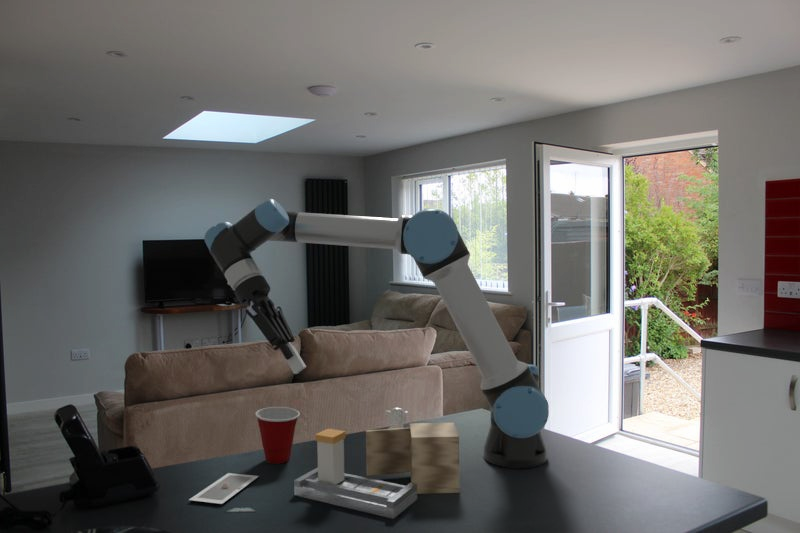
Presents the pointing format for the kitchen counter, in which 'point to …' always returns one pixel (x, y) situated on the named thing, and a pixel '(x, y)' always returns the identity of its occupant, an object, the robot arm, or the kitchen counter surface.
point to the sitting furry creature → (396, 417)
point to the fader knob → (330, 455)
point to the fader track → (358, 493)
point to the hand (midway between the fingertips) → (300, 370)
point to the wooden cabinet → (417, 455)
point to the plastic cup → (277, 432)
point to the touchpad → (224, 488)
